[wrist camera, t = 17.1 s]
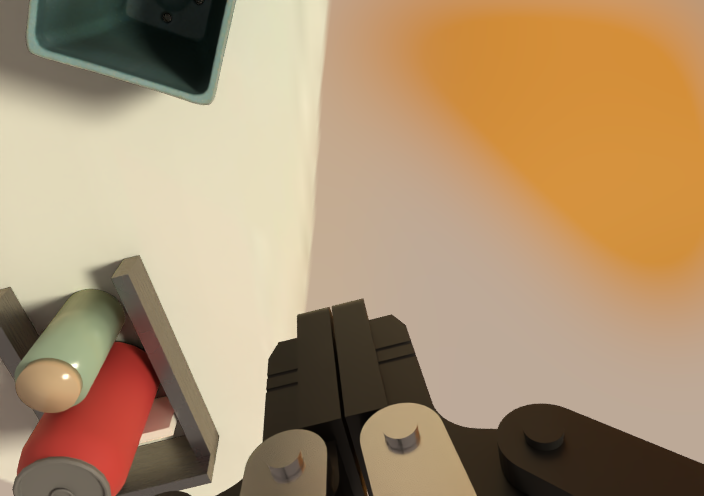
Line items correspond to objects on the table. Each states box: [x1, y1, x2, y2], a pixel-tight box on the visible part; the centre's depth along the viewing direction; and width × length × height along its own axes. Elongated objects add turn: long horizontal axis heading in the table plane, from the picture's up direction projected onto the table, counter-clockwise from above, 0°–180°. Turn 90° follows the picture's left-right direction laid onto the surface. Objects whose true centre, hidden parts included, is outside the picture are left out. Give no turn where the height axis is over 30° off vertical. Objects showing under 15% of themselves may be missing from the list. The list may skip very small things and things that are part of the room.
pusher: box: [139, 396, 178, 443], centre depth 43 cm, size 1×8×4 cm, turn 102°
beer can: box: [13, 342, 160, 496], centre depth 38 cm, size 7×7×12 cm
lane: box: [0, 255, 219, 496], centre depth 41 cm, size 18×11×5 cm, turn 13°
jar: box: [14, 289, 125, 413], centre depth 37 cm, size 4×4×9 cm
